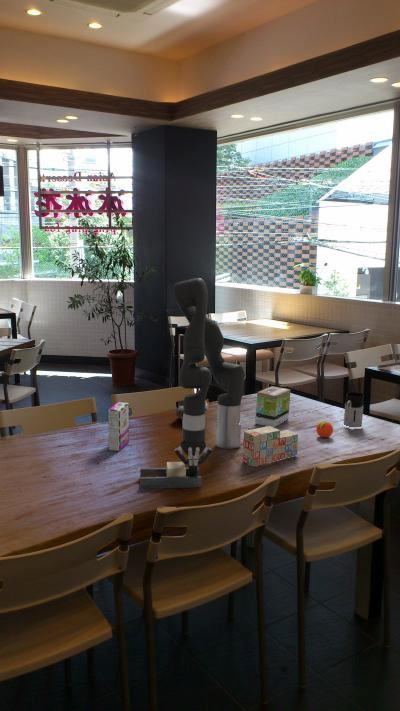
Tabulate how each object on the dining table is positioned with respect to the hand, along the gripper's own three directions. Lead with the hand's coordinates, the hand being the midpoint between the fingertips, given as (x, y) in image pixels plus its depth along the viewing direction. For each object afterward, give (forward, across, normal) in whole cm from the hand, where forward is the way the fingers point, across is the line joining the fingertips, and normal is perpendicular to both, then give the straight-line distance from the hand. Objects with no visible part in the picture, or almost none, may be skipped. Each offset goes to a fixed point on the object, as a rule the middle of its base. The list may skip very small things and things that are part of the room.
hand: (192, 475), depth 204 cm
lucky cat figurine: (+3, -6, -68) cm, 68 cm away
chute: (+3, +8, 0) cm, 8 cm away
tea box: (+3, -43, -66) cm, 79 cm away
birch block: (+1, +6, 0) cm, 6 cm away
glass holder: (+3, -76, -56) cm, 94 cm away
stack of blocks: (+3, -32, -20) cm, 37 cm away
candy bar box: (+3, +25, -36) cm, 44 cm away
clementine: (+3, -60, -44) cm, 74 cm away
